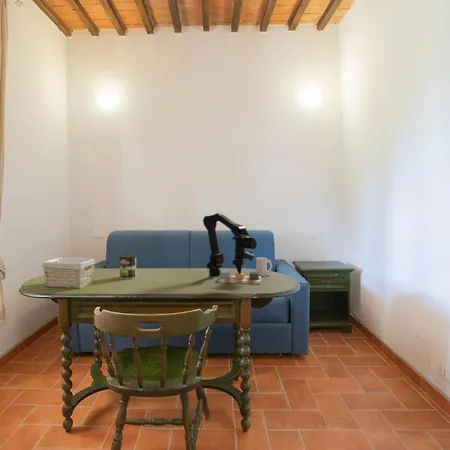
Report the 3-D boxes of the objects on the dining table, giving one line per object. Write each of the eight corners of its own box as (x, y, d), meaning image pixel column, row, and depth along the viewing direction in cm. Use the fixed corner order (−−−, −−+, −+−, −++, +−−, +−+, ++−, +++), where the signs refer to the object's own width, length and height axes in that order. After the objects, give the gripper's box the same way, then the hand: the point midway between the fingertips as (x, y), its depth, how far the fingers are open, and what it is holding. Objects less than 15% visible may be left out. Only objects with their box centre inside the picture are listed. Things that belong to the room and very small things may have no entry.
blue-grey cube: (220, 280, 191) (220, 272, 191) (222, 278, 196) (222, 270, 196) (229, 281, 190) (229, 272, 190) (230, 279, 195) (230, 270, 195)
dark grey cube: (249, 282, 188) (249, 273, 188) (250, 279, 193) (250, 271, 193) (258, 282, 188) (258, 273, 187) (258, 280, 192) (258, 271, 192)
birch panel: (217, 284, 188) (217, 279, 188) (220, 279, 200) (220, 274, 200) (260, 286, 184) (260, 281, 184) (261, 281, 196) (261, 276, 196)
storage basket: (97, 282, 194) (96, 257, 193) (81, 289, 178) (80, 263, 177) (60, 280, 198) (59, 256, 197) (41, 287, 182) (40, 261, 181)
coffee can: (131, 279, 200) (131, 257, 199) (116, 278, 202) (116, 256, 201) (139, 276, 210) (139, 254, 209) (125, 275, 212) (124, 253, 211)
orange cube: (234, 282, 190) (235, 274, 190) (236, 280, 195) (236, 272, 194) (243, 283, 189) (243, 274, 189) (244, 281, 194) (244, 272, 194)
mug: (256, 278, 204) (257, 259, 203) (255, 275, 211) (255, 257, 210) (272, 278, 204) (273, 259, 203) (271, 275, 211) (271, 257, 210)
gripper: (252, 250, 180) (251, 278, 181) (254, 245, 198) (254, 270, 199) (232, 249, 182) (232, 277, 183) (236, 245, 200) (236, 270, 201)
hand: (239, 273), depth 192 cm, fingers closed, pressing on orange cube
